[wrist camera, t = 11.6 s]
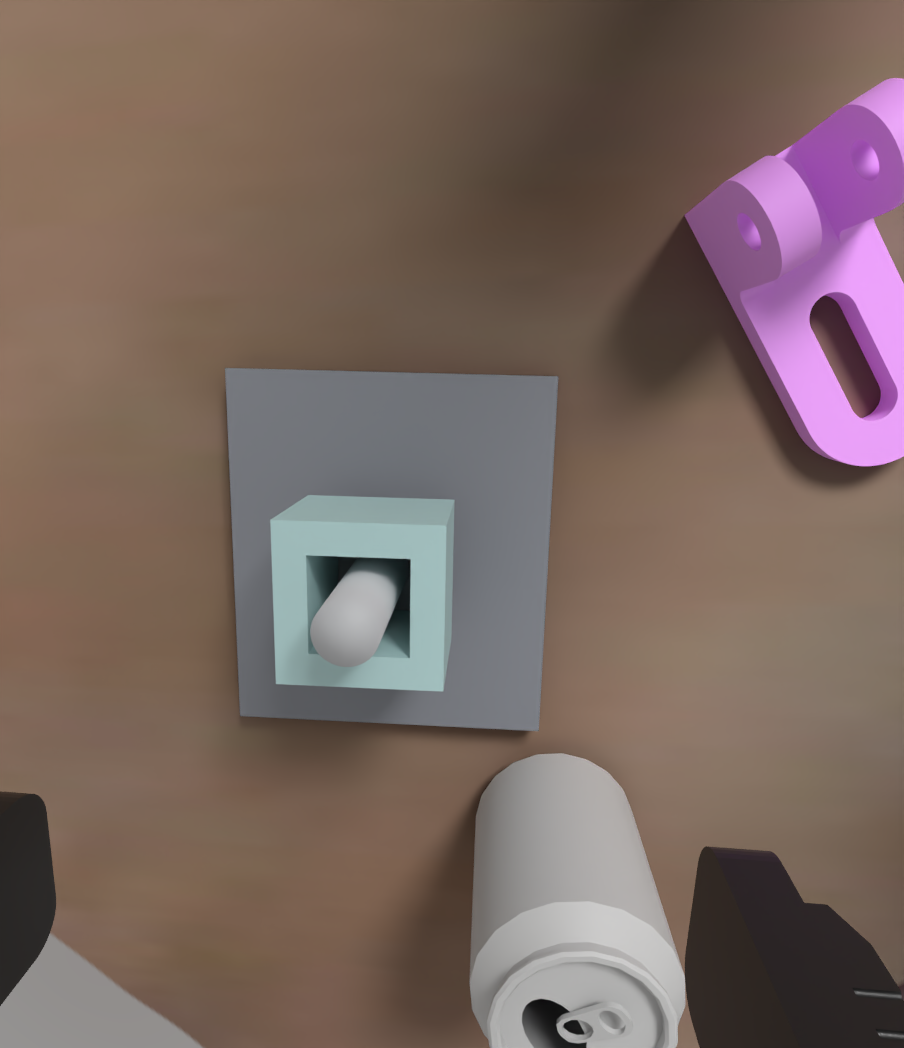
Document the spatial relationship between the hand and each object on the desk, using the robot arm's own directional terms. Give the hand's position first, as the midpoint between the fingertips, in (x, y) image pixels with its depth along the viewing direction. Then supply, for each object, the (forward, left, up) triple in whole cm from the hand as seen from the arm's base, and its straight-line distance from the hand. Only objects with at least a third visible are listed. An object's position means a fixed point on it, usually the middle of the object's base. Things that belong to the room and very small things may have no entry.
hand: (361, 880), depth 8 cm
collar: (+2, -3, -21) cm, 21 cm away
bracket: (-9, +15, -24) cm, 29 cm away
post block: (+2, -3, -24) cm, 24 cm away
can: (+15, +5, -24) cm, 28 cm away
